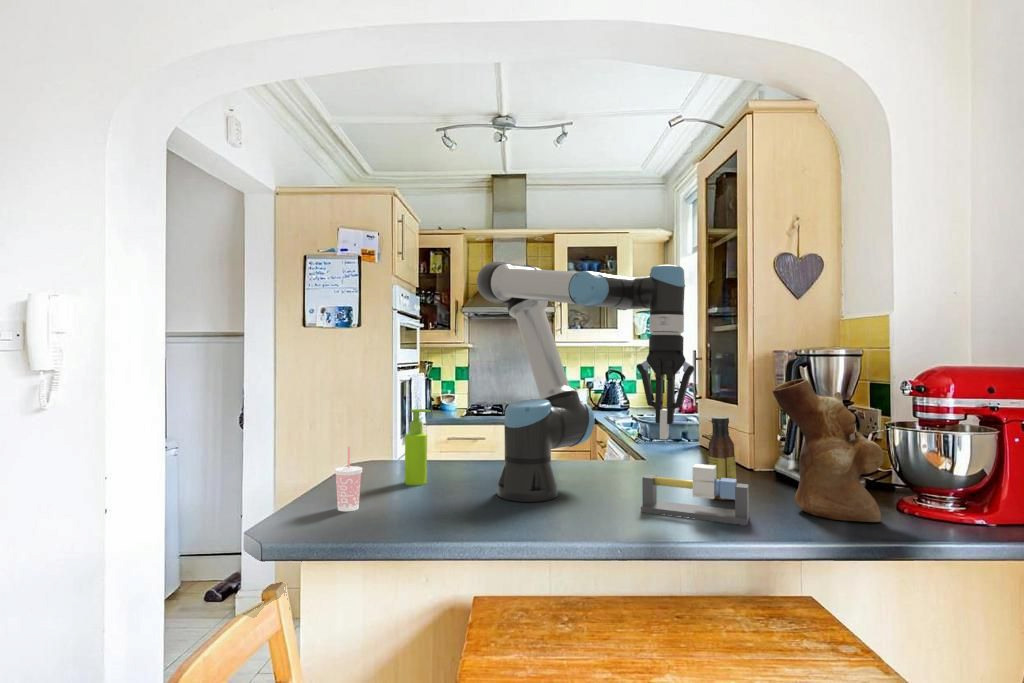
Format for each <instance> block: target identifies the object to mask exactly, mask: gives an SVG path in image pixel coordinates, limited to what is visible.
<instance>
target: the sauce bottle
mask: <svg viewBox="0 0 1024 683" xmlns="http://www.w3.org/2000/svg"><path fill="white" fill-rule="evenodd" d="M729 423H730V418H729V417H727V416H712V417H711V424H712V436H711V438H710V440H709V442H708V450H707V451H708V453H707V456H708V465H716V479H720V480H721V478H730V479H737V472H736V470H737V469H736V455H735V444H734V441H733V440H732V438H731V436H730V432H729ZM714 499H715V500H717V499H718V500H719V501H733V500H734V499H725V498H720V496H718V495H716V496H715V498H714ZM734 501H735V500H734Z"/></svg>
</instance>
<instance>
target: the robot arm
mask: <svg viewBox="0 0 1024 683" xmlns="http://www.w3.org/2000/svg"><path fill="white" fill-rule="evenodd" d="M685 280H686V279H685V270H684V268H683V267H682V266H680V265H674V264H660V265H656V266H652V267H651V268H650V273H649V275H648V276H639V277H638V276H637V277H635V276H634V277H630V276H629V277H628V276H623V275H622V276H621V275H615V274H608V273H602V272H598V271H592V270H583V271H573V270H572V271H571V270H570V271H569V270H553V269H552V270H551V269H541V268H539V267H535V266H533V265H530V264H523V265H522V264H516V263H511V262H504V261H492V262H491V261H490V262H489V263H486V264H485V265H484V266H482V267H481V268H480V270H479V272H478V273H477V278H476V287H477V290H478V292H479V294H480V295H481V297H483V298H484V299H485V300H486V301H489V302H491V303H494V304H505V305H506V308H507V311H508V314H509V316H510V317H511V318H514V319H516V323H517V326H518V329H519V333H520V335H521V339H522V341H523V342H522V343H523V346H524V349H525V352H526V356H527V359H528V362H529V365H530V368H531V369H530V370H531V373H532V375H533V379H534V382H535V385H536V389H537V393H538V395H539V397H538V398H533V399H532V398H531V399H522V400H517V401H514V402H511V403H510V404H508V405H507V406H506V408H505V411H504V420H503V424H504V427H503V428H504V464H503V467H502V470H501V474H500V476H499V480H498V483H497V493H496V494H497V496H498V497H499V498H501V499H503V500H507V501H512V502H519V503H520V502H521V503H522V502H523V503H534V502H535V503H536V502H546V501H550V500H553V499H556V498H557V497H558V496H559V490H558V489H559V486H558V482H557V479H556V477H555V476H556V475H555V474H554V470H553V467H552V461H551V460H552V458H551V457H552V450H554V449H560V448H561V449H562V448H566V447H567V448H572V447H575V446H577V445H581V444H583V443H585V442H586V441H588V440H589V439H590V438H591V436H592V434H593V431H594V428H595V415H594V411H593V409H592V408H591V406H590V405H589V404H587V403H586V402H584V401H582V400H581V399H580V396H579V393H578V391H577V390H576V389H574V388H573V387H571V386H570V384H569V381H568V377H567V374H566V372H565V369H564V368H565V367H564V365H563V361H562V359H561V356H560V353H559V350H558V347H557V343H556V340H555V338H554V334H553V332H552V327H551V325H550V322H549V318H548V316H547V313H546V309H547V306H548V304H549V302H555V303H563V304H574V305H575V304H576V305H580V306H585V307H601V308H603V307H604V308H610V309H611V310H616V311H617V310H619V311H627V310H639V309H641V310H642V309H646V310H648V309H649V330H648V331H649V332H650V333H651V334H650V335H649V337H648V354H647V356H646V360H645V361H643V362H641V363H638V364H636V369H637V370H638V372H639V374H640V376H641V381H642V385H643V389H644V394H645V399H646V404H647V405H648V406H649V407H652V408H654V409H655V417H654V418H655V423H656V424H659V439H660V440H667V439H669V435H670V432H669V431H670V425H672V424H673V423H674V422H675V421H674V418H675V416H674V415H675V409H678V408H682V406H683V404H684V400H685V396H686V394H687V390H688V385H689V382H690V378H691V376H692V374H693V373H694V372H695V370H696V366H695V365H691V364H690V363H689V362H687V361H686V357H685V356H684V355H685V354H684V336H683V335H682V334H683V333H684V332H685V327H684V326H685V311H684V310H685V309H684V306H685V288H686V284H685ZM649 367H650V368H651V370H652V371H653V373H654V374H655V394H654V392H653V391H654V390H653V387H652V382H651V379H650V374H649V370H650V368H649ZM682 367H683V368H682ZM681 368H682V372H683V375H682V379H681V382H680V385H679V389H678V393H677V397H676V400H675V392H676V391H675V388H676V386H675V385H676V384H675V383H676V374H678V372H679V371H680V370H681ZM665 375H666V381H667V382H666V383H667V384H666V387H667V389H666V408H664V405H663V402H664V378H665ZM654 395H655V396H654Z"/></svg>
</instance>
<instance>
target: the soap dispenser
mask: <svg viewBox="0 0 1024 683" xmlns="http://www.w3.org/2000/svg"><path fill="white" fill-rule="evenodd" d="M431 412H432V410H430V409H425V408H415V409H410V413H412V420H411V421H409V433H406V434H405V435H404V485H407V486H423V485H426V484H427V483H428V474H427V472H428V468H427V467H428V434H427V433H424V432H423V421H422V420H420V413H427V414H429V413H431Z"/></svg>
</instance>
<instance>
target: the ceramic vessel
mask: <svg viewBox="0 0 1024 683" xmlns="http://www.w3.org/2000/svg"><path fill="white" fill-rule="evenodd" d="M771 391H772V393H773V396H774V397H775V400H776V402H777V403H778V406H779V407H780V408H781V410H782V411H783V412H784V413H785V414H786V415H787V417H789V419H790V420H791V421H792V422H793V423H794V424H795V425H796V426H797V428H799V430H800V431H801V433H802V434H803V437H804V443H803V445H802V448H801V451H800V452H801V453H800V455H799V457H798V460H799V465H798V466H799V467H798V470H799V471H798V472H799V482H798V488H797V490H796V493H795V495H794V502H795V503H796V504H797V505H798V506H799V507H800V509H801V510H802V511H804V512H805V513H807V514H810V515H812V516H816V517H819V518H825V519H829V520H836V521H838V520H839V521H847V522H848V521H849V522H866V523H870V522H871V523H879V522H881V521H882V514H881V510H880V507H879V504H878V503H877V501H876V499H875V498H874V497H873V496H872V494H871V493H870V492H869V491H868V489H866V488H865V486H864V485H863V483H862V482H861V479H860V477H861V475H866V474H870V473H874V472H876V471H877V470H878V469H879V468H880V467H881V466H882V465H883V463H884V461H885V453H884V450H883V449H882V447H881V445H879V444H878V443H876V442H875V441H872V440H870V439H868V438H867V437H865V436H864V435H863V434H862V433H861V432H859V431H855V430H856V420H857V418H856V415H855V414H854V413H853V412H851V410H850V409H849V408H847V406H845V405H844V403H843V402H844V401H843V396H842V394H841V392H840V391H836V392H835V393H834V395H833V396H822V395H818V394H816V392H815V391H814V390H813V388H812V385H811V383H810V382H809V380H808V379H807V378H798V379H793V380H790V381H789V380H788V381H786V382H783V383H780V384H778V385H776V386H774V387H773V388H772V389H771ZM851 435H854V438H853V439H850V440H847V437H849V436H851Z"/></svg>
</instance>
